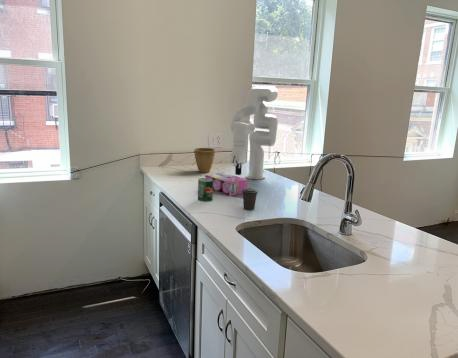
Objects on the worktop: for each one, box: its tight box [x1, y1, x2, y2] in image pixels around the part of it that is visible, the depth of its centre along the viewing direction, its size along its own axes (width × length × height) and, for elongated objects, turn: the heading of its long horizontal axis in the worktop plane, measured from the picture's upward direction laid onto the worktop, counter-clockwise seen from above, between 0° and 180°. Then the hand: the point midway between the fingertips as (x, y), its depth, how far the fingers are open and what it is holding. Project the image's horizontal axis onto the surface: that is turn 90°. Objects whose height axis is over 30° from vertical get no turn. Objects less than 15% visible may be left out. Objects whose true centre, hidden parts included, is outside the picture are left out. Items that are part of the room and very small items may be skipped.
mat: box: [213, 190, 243, 199], centre depth 219 cm, size 14×24×1 cm, turn 60°
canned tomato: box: [197, 177, 214, 203], centre depth 201 cm, size 8×8×11 cm
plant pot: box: [193, 147, 216, 174], centre depth 268 cm, size 15×15×16 cm
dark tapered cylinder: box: [242, 187, 259, 211], centre depth 189 cm, size 8×8×10 cm
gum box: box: [204, 171, 249, 197], centre depth 222 cm, size 24×8×14 cm
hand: (238, 174), depth 224 cm, fingers closed
